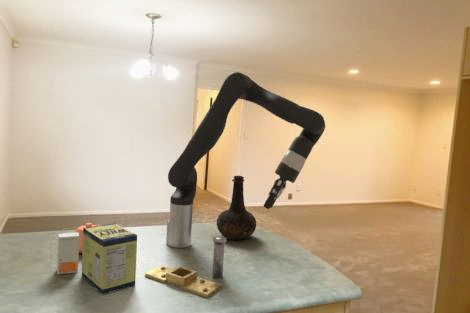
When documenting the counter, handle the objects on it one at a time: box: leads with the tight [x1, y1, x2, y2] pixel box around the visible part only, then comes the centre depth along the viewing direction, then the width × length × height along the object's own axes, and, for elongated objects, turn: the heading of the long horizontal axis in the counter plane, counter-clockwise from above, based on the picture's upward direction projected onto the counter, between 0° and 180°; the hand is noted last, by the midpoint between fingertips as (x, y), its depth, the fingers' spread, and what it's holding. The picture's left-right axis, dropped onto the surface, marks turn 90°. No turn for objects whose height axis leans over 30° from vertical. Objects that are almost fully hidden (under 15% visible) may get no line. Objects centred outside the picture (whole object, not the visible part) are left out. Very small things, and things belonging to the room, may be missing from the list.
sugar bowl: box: [74, 222, 101, 254], centre depth 131 cm, size 12×14×10 cm
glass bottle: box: [216, 175, 257, 241], centre depth 157 cm, size 18×18×28 cm
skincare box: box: [56, 232, 80, 275], centre depth 111 cm, size 6×4×12 cm
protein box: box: [81, 222, 138, 295], centre depth 106 cm, size 10×16×16 cm
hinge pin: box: [211, 235, 227, 280], centre depth 115 cm, size 4×4×13 cm
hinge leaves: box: [144, 265, 223, 299], centre depth 109 cm, size 24×8×3 cm, turn 61°
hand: (267, 207), depth 120 cm, fingers open, 8 cm apart
